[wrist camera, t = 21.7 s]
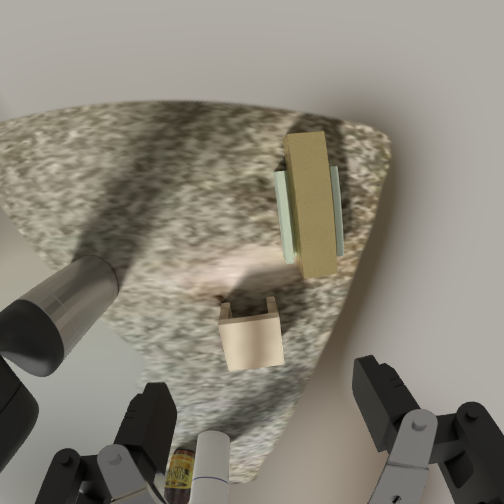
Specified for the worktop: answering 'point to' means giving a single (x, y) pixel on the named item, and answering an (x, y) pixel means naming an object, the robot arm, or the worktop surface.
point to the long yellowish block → (311, 203)
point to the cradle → (287, 217)
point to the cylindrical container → (211, 469)
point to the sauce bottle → (179, 477)
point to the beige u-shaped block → (251, 338)
